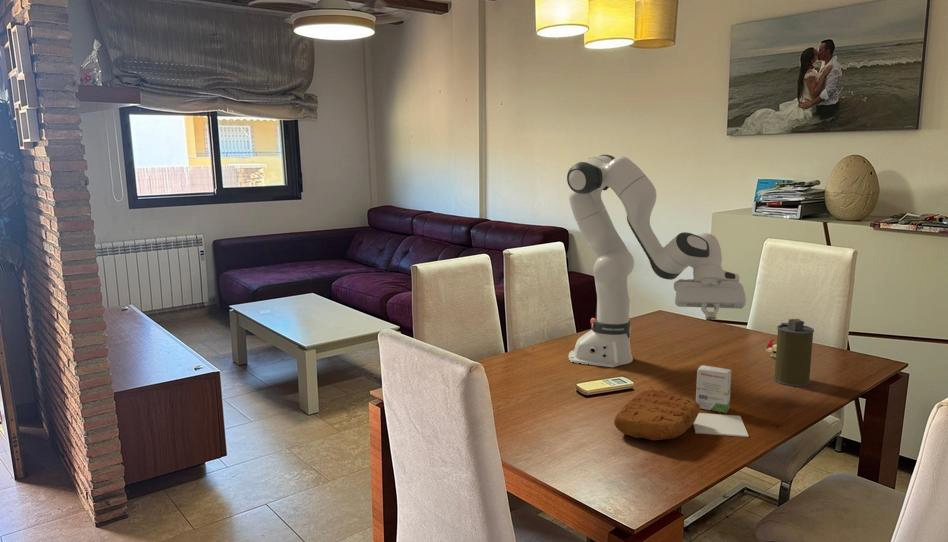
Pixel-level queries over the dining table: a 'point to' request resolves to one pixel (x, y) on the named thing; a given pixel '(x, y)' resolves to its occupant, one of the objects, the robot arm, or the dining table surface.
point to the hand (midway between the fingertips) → (711, 318)
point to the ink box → (713, 388)
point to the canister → (793, 353)
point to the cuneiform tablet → (657, 415)
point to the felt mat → (720, 425)
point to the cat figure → (771, 348)
